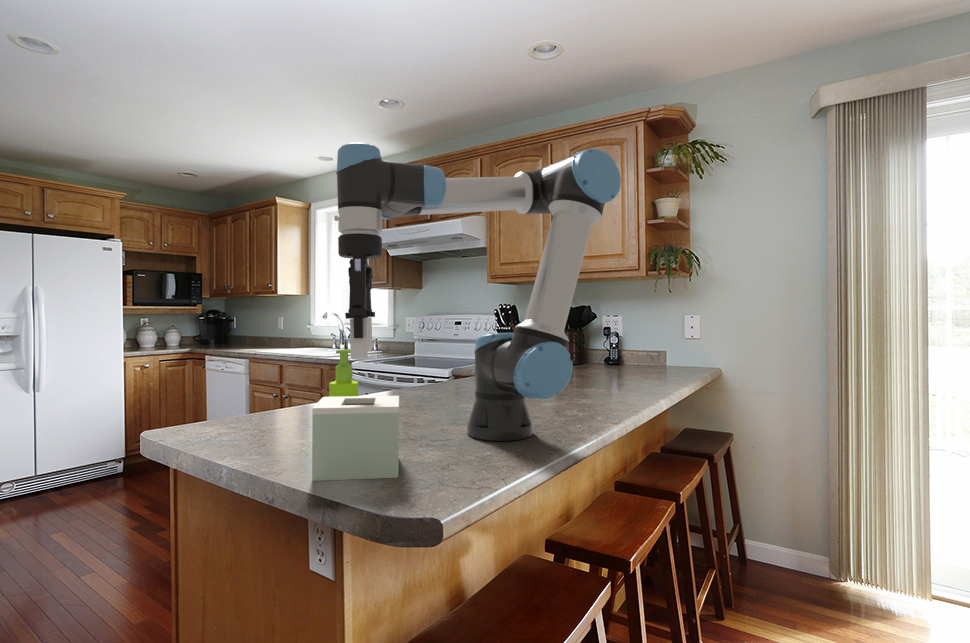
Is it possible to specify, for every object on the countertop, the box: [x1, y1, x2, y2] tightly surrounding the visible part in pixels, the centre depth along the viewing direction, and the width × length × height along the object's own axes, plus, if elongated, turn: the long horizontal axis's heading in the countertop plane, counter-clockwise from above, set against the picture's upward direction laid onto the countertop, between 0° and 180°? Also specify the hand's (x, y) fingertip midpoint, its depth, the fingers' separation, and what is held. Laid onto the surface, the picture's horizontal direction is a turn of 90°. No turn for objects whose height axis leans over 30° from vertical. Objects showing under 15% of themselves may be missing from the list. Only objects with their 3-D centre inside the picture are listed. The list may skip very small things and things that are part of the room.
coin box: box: [311, 395, 400, 482], centre depth 94 cm, size 14×12×12 cm
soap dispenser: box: [328, 348, 359, 397], centre depth 111 cm, size 6×7×20 cm
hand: (362, 355), depth 94 cm, fingers open, 13 cm apart
